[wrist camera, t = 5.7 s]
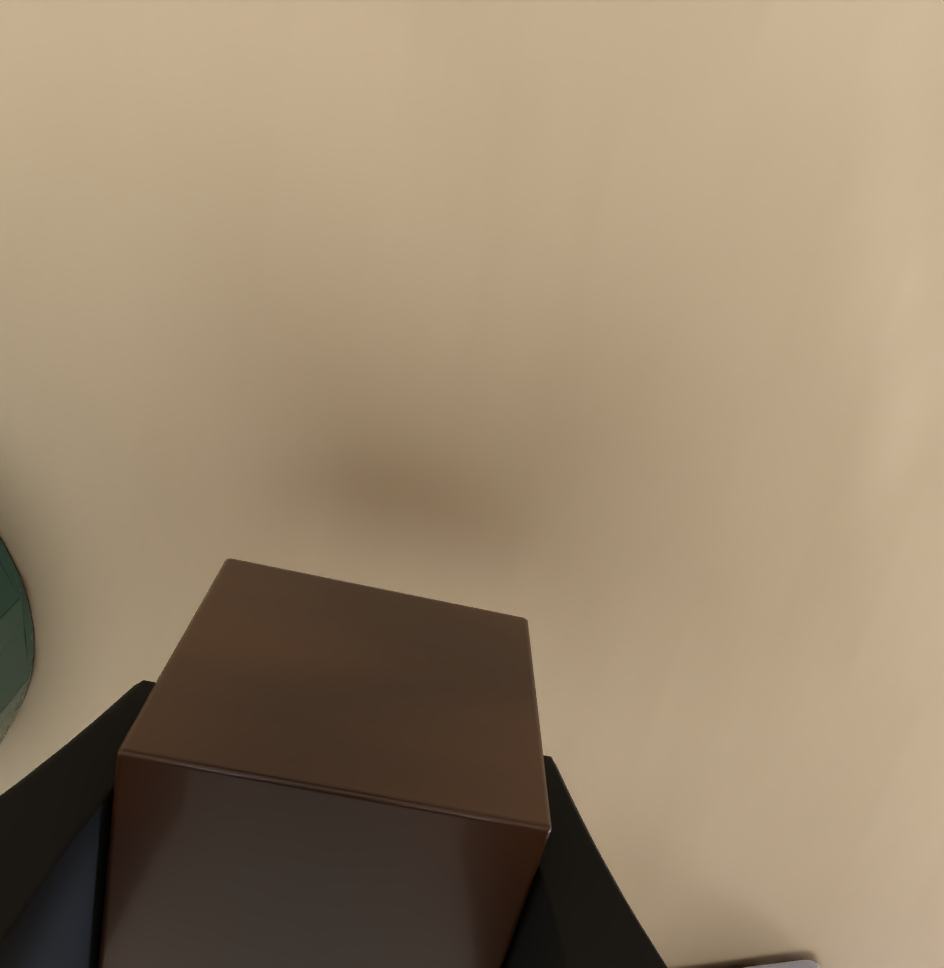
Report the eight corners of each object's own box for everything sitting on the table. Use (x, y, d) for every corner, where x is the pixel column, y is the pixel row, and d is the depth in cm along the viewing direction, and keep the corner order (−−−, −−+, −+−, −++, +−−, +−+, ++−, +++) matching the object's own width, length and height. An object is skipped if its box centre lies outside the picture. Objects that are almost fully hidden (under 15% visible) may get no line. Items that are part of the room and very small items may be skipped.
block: (529, 617, 12) (553, 829, 8) (461, 838, 14) (457, 1096, 10) (225, 555, 12) (114, 750, 8) (194, 791, 13) (89, 1041, 10)
